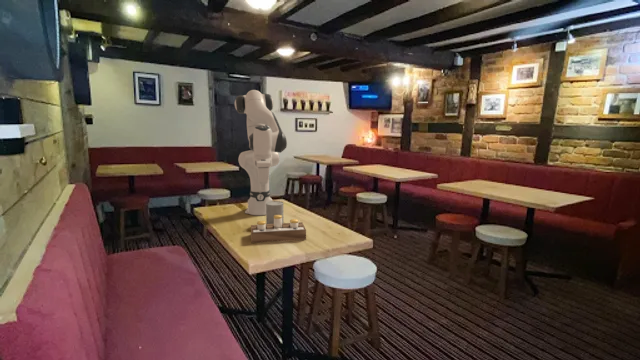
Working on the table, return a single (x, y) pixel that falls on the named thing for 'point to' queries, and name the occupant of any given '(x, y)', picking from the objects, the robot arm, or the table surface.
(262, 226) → the button
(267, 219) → the grey concrete cylinder
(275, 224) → the middle button
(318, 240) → the table surface
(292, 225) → the button
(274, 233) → the button board
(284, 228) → the strip
